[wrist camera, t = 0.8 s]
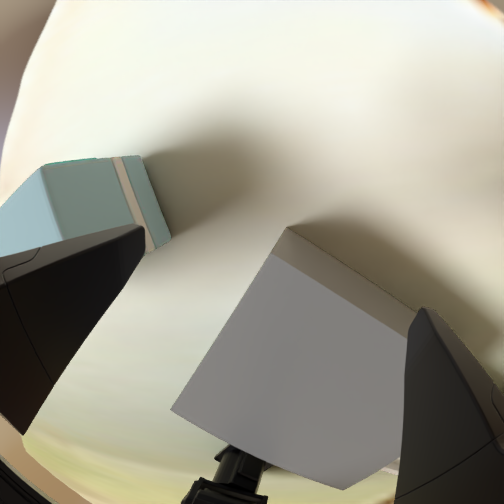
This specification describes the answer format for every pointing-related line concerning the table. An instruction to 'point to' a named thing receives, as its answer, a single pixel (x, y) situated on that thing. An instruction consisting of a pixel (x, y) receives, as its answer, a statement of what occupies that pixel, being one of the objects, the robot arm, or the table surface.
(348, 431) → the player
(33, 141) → the table surface
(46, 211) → the radio
